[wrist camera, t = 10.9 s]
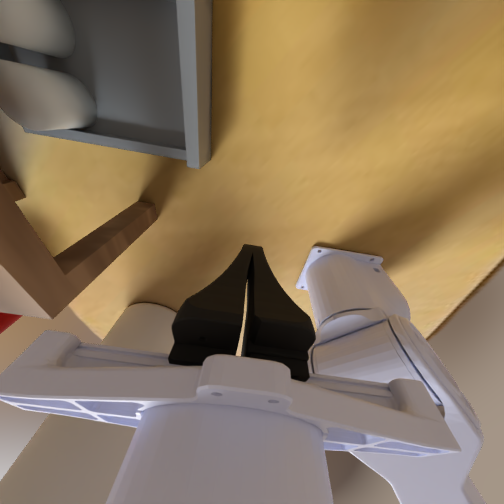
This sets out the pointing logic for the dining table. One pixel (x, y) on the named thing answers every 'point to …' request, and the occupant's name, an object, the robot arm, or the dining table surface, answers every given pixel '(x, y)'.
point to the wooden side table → (61, 266)
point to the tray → (111, 73)
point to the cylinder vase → (85, 431)
